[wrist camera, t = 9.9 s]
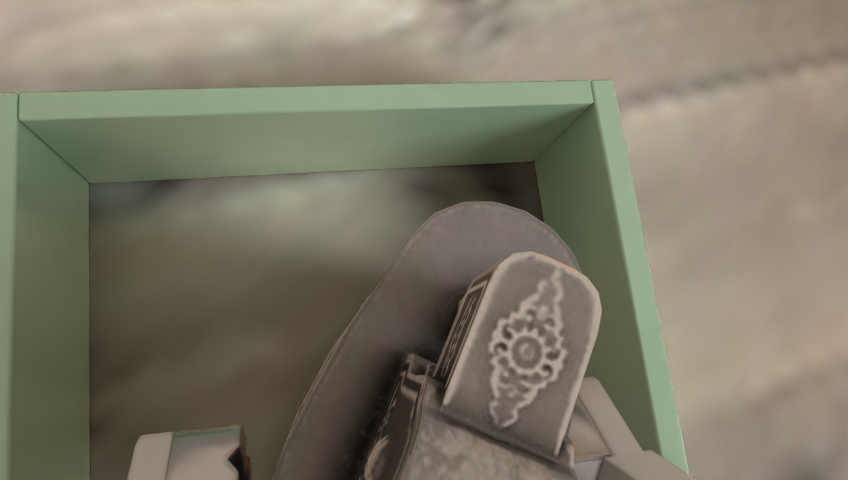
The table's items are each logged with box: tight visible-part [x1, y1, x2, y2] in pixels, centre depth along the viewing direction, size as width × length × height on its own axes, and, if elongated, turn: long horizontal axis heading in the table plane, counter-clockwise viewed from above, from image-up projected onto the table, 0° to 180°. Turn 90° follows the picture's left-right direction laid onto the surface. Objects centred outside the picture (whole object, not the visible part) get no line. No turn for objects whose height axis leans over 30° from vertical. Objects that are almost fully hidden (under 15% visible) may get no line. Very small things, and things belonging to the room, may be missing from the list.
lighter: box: [271, 202, 602, 480], centre depth 10 cm, size 8×3×10 cm, turn 157°
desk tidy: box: [0, 80, 689, 480], centre depth 13 cm, size 13×15×4 cm
